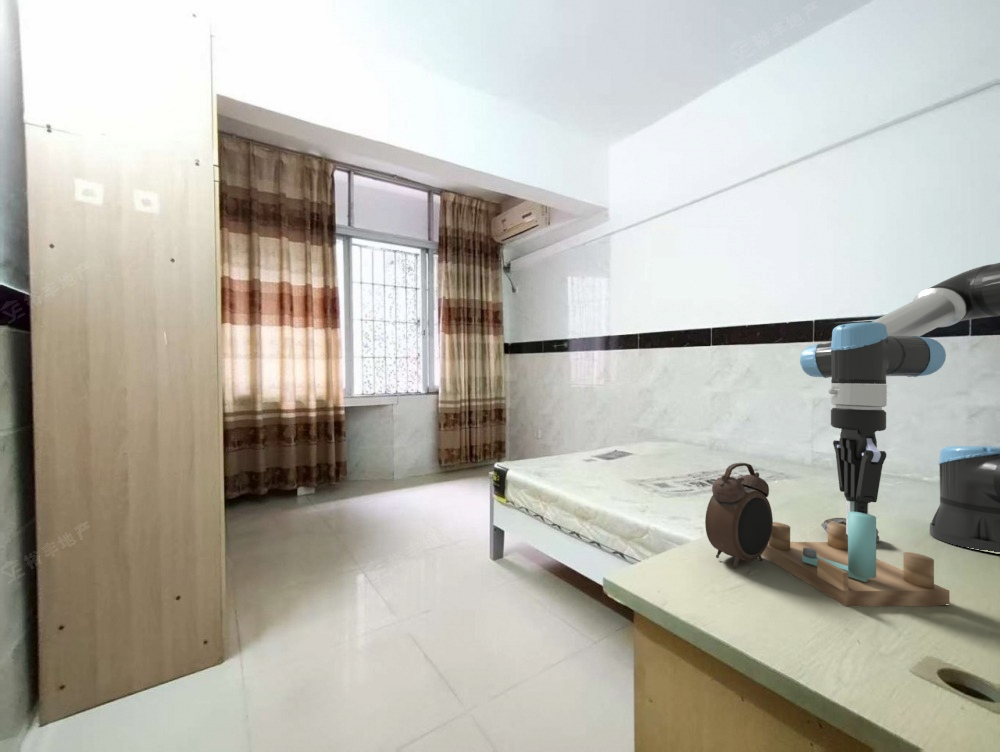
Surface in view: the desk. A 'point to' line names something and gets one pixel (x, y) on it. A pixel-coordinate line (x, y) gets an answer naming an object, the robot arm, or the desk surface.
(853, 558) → the hinged leg
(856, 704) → the desk surface
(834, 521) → the fossilized seashell
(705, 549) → the desk surface
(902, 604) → the stool seat
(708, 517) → the alarm clock
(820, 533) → the desk surface
